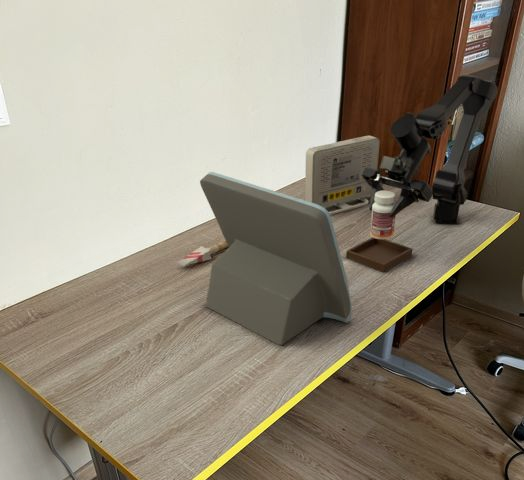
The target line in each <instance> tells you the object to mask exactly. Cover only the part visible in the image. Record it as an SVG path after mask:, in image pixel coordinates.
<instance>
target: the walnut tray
mask: <svg viewBox="0 0 524 480" xmlns="http://www.w3.org/2000/svg"><path fill="white" fill-rule="evenodd" d="M413 250H414V249H413V248H412V247H410V246H408V245H407V246H406V245H404V244H400V243H397V242H395V241H392V240H389V239H384V240H381V239H375V238H373V237H372V236H371V238H368V239H365V240H364V241H362V242H361V243H359V244H356V245H354V246H352V247H351V248H348V249H347V250H346V255H345V258H346V259H347V260H351V261H353V262H356V263H358V264H361V265H362V266H366V267H369V268H371V269H373V270H377V271H379V272H381V273H385V272H387V271H389V270H390V269H392V268H394V267H395V266H397V265H398V264H400V263H402V262H404V261H405V260H407V259H409V258H411V257H412V256H413Z"/></svg>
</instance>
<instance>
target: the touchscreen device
mask: <svg viewBox="0 0 524 480" xmlns="http://www.w3.org/2000/svg"><path fill="white" fill-rule="evenodd" d="M199 185H200V187H201V190H202V192H203V194H204V196H205V199H206V200H207V203H208V205H209V207H210V209H211V211H212V213H213V215H214V217H215V220H216V222H217V224H218V227H219V229H220V231H221V233H222V235H223V237H224V241H226V242H227V244H228V247H227V249H226V250H225V251H224V252H223V253H222V254H221V255H220V256H219V257H218V258H217V259H216V260H215V261H214V262H212V264H211V269H210V275H209V276H210V277H209V283H208V288H207V289H208V290H207V297H206V303H205V304H206V307H207V308H208V309H210V310H211V311H214V312H216V313H218V314H219V315H221V316H223V317H225V318H227V319H228V320H230V321H233V322H234V323H236V324H238V325H240V326H242V327H244V328H246V329H248V330H249V331H251V332H253V333H255V334H257V335H259V336H260V337H262V338H264V339H267V340H268V341H270V342H272V343H274V344H276V345H279V346H282V345H284V344H285V343H287V342H288V341H290V340H292V339H293V338H294V337H296V336H297V335H299V334H300V333H302V332H303V331H304V330H306V329H307V328H309V327H311V326H312V325H313V324H314V323H316V322H318V321H319V320H321V319H322V318H327V319H328V318H329V319H334V320H337V321H340V322H342V323H348V322H349V321H351V317H352V310H353V306H352V300H351V293H350V289H349V288H350V287H349V283H348V278H347V274H346V269H345V266H344V262H343V258H342V254H341V250H340V246H339V243H338V238H337V236H336V231H335V227H334V223H333V219H332V216H331V215H330V214H329V212H330V211H328V210H327V209H326V207H322V206H320V205H317V204H314V203H311V202H308V201H305V199H301V198H298V197H295V196H292V195H289V194H285V193H282V192H278V191H275V190H273V189H269V188H266V187H262V186H259V185H256V184H253V183H250V182H247V181H243V180H240V179H237V178H234V177H230V176H227V175H224V174H222V173H221V174H220V173H217V172H215V171H209V172H208V173H207V174H206V175H205V176H203V177H202V178H201V179H200V181H199Z"/></svg>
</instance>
